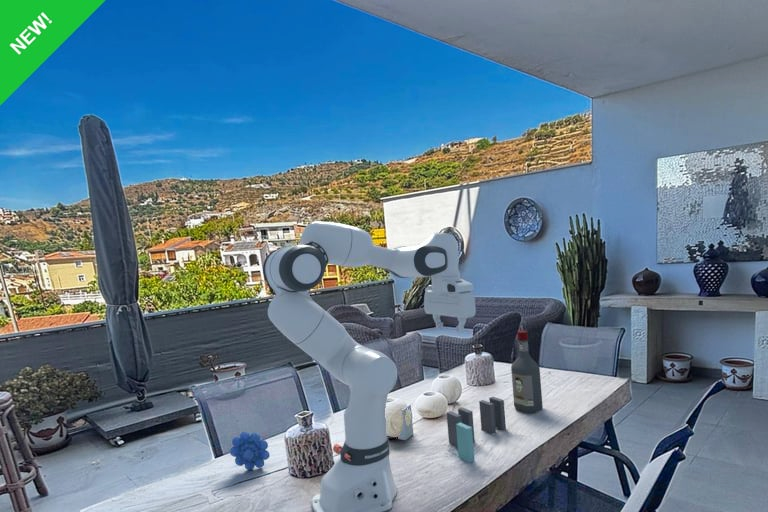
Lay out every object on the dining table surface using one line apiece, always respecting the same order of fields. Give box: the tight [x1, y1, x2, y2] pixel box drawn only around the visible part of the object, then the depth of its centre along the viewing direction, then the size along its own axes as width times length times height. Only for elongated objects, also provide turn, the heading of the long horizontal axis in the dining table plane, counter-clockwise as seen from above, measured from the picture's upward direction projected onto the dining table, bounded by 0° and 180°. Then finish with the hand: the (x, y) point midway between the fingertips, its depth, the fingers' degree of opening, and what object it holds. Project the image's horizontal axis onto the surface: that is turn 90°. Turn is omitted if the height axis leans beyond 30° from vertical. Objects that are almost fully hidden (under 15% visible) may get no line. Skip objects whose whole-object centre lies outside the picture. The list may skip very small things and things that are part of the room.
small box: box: [398, 403, 414, 441], centre depth 143 cm, size 8×6×10 cm
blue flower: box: [229, 431, 270, 471], centre depth 126 cm, size 12×7×12 cm, turn 100°
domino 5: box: [489, 396, 507, 431], centre depth 144 cm, size 2×5×10 cm, turn 32°
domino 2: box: [457, 407, 476, 443], centre depth 136 cm, size 2×5×10 cm, turn 33°
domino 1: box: [446, 410, 462, 448], centre depth 133 cm, size 2×5×10 cm, turn 32°
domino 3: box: [456, 422, 475, 464], centre depth 124 cm, size 2×5×10 cm, turn 32°
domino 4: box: [478, 399, 497, 435], centre depth 141 cm, size 2×5×10 cm, turn 32°
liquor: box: [510, 330, 544, 414], centre depth 159 cm, size 9×9×30 cm
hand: (449, 330), depth 125 cm, fingers open, 8 cm apart
